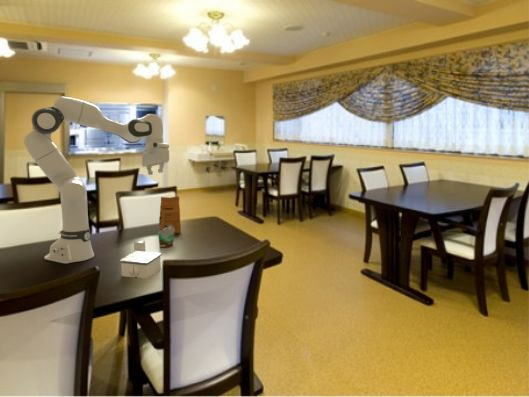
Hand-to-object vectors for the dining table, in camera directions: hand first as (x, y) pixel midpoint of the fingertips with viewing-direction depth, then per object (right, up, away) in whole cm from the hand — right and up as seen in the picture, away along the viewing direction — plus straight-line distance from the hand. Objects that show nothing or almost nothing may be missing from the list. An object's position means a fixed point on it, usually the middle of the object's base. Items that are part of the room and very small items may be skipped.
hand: (155, 173), depth 198 cm
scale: (+1, -45, -25) cm, 52 cm away
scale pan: (+1, -39, -27) cm, 47 cm away
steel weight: (-4, -42, -10) cm, 44 cm away
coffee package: (-2, -33, +38) cm, 50 cm away
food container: (+4, -38, +12) cm, 40 cm away
